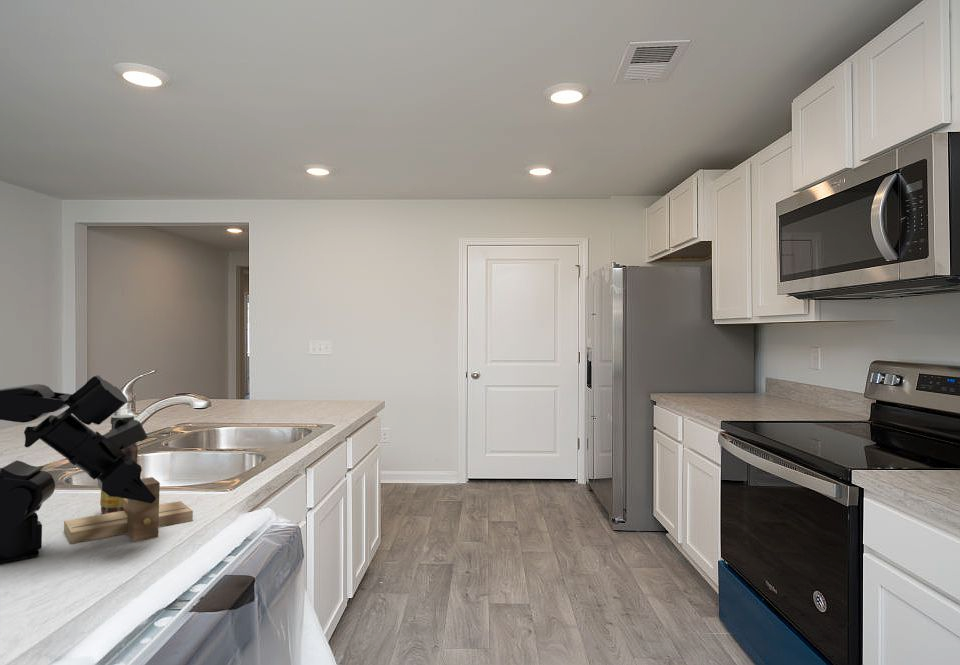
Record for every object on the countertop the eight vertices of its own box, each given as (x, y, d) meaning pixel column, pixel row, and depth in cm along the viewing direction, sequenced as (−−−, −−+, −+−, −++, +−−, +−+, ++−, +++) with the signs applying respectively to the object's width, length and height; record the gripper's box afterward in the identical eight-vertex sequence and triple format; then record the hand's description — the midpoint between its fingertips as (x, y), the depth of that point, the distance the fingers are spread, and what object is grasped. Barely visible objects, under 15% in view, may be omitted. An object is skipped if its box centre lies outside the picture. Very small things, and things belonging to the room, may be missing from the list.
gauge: (134, 542, 102) (135, 487, 102) (115, 520, 113) (117, 470, 113) (159, 537, 105) (160, 483, 105) (138, 516, 116) (140, 467, 116)
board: (70, 543, 101) (70, 532, 101) (63, 531, 106) (64, 520, 106) (192, 520, 114) (192, 510, 114) (180, 510, 120) (180, 500, 120)
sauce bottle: (93, 513, 117) (96, 416, 117) (125, 505, 122) (127, 413, 123) (111, 518, 114) (114, 418, 114) (142, 510, 119) (145, 415, 119)
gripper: (128, 413, 95) (197, 469, 103) (106, 401, 109) (168, 451, 117) (69, 467, 90) (146, 522, 97) (54, 447, 104) (122, 497, 111)
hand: (147, 495), depth 106 cm, fingers open, 9 cm apart
